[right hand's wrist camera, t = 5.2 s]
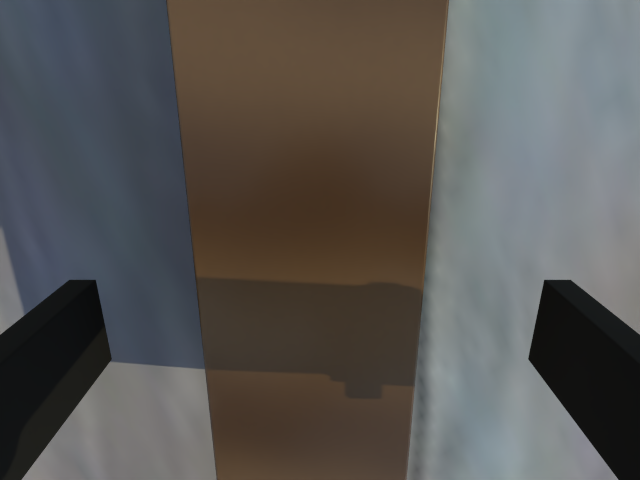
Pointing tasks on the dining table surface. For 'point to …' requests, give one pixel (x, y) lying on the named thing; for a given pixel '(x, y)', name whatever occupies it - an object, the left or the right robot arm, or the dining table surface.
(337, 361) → the post
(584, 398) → the right robot arm
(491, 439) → the dining table surface
